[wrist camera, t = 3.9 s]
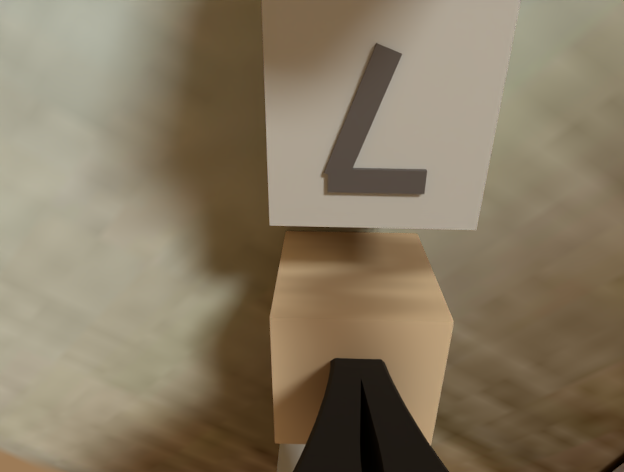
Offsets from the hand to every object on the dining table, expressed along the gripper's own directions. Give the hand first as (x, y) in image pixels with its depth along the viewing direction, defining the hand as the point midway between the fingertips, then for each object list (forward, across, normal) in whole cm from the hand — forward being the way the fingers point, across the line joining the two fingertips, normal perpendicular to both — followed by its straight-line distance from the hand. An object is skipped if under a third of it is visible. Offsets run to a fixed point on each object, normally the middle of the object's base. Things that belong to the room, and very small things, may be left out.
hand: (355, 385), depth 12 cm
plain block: (+5, 0, 0) cm, 5 cm away
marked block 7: (+5, 0, -7) cm, 9 cm away
